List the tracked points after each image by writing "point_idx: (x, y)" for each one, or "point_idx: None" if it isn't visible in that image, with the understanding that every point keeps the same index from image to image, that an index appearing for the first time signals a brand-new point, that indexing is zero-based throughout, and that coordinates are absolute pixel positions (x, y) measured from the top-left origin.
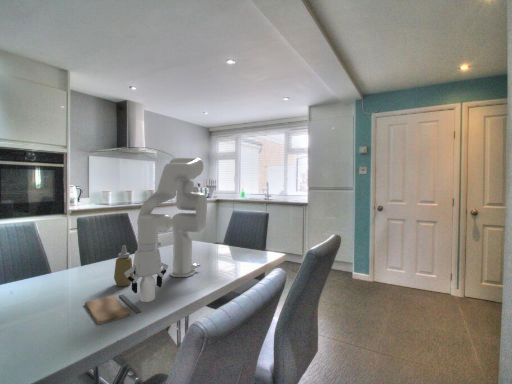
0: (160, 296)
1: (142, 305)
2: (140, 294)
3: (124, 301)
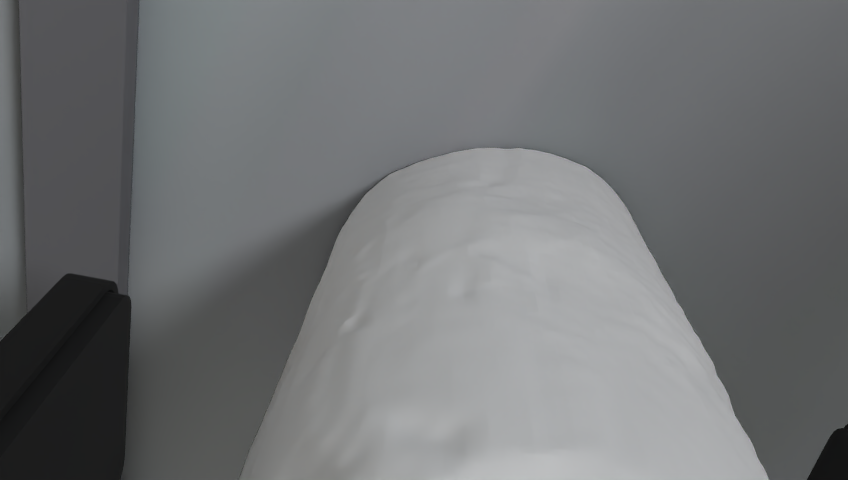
0: (733, 368)
1: (248, 441)
2: (306, 313)
3: (33, 11)
